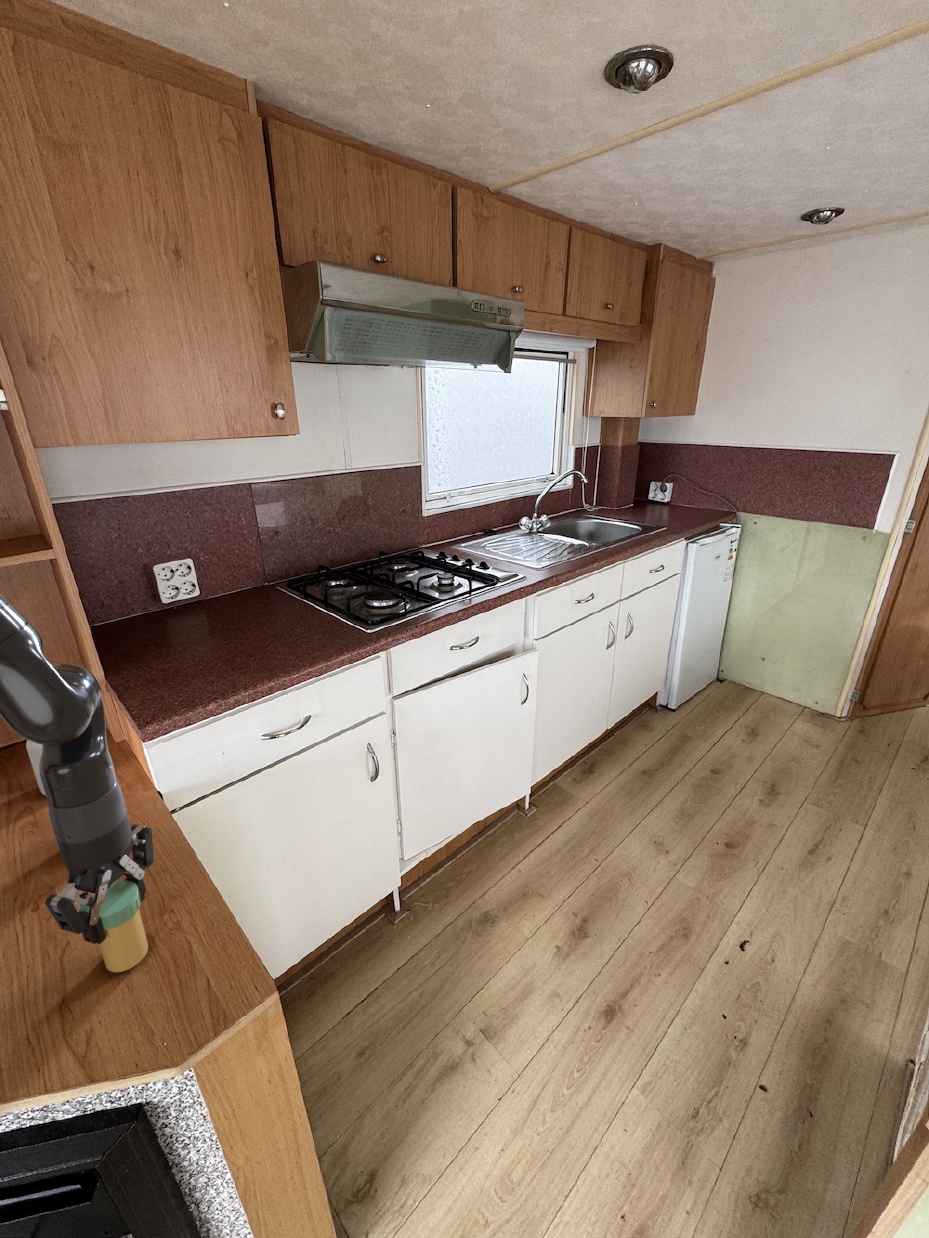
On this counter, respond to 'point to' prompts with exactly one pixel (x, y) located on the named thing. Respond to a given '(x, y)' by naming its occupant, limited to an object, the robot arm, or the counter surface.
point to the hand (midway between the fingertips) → (118, 918)
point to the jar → (125, 945)
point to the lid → (119, 904)
